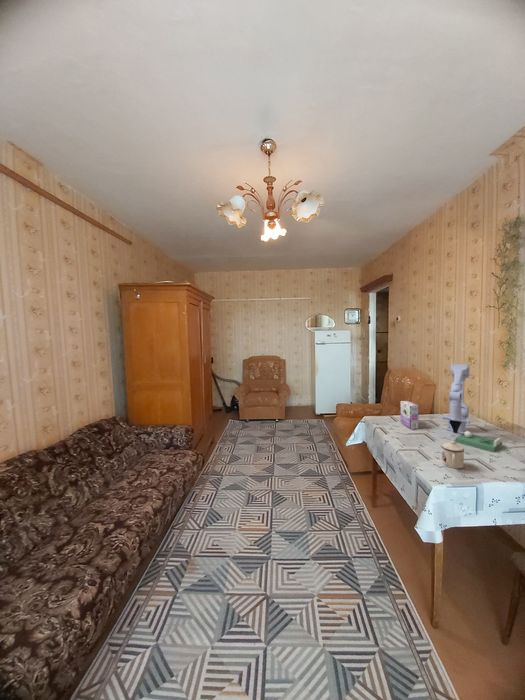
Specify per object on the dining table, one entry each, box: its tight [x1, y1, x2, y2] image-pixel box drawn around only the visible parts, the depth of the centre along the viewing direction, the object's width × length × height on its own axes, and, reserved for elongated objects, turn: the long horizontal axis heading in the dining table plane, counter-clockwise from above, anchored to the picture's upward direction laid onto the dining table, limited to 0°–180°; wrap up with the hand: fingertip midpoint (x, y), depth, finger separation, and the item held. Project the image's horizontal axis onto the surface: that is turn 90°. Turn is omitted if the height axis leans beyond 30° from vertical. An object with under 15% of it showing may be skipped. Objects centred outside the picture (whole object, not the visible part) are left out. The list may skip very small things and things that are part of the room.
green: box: [454, 433, 503, 453], centre depth 157 cm, size 18×14×5 cm
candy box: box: [399, 400, 420, 430], centre depth 191 cm, size 14×6×16 cm, turn 179°
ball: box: [464, 430, 473, 437], centre depth 162 cm, size 4×4×4 cm
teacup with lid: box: [441, 440, 465, 469], centre depth 133 cm, size 12×9×12 cm
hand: (455, 432), depth 167 cm, fingers closed
